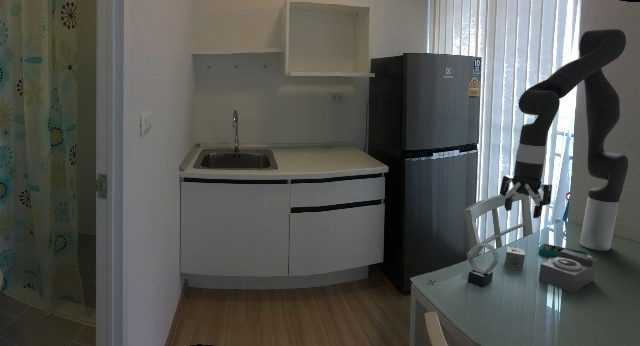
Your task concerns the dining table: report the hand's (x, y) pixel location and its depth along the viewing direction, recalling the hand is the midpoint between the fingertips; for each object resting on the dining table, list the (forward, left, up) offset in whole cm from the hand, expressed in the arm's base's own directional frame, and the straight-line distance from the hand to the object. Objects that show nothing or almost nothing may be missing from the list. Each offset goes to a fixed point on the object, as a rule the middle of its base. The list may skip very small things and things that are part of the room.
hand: (521, 214), depth 134 cm
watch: (+20, +1, -17) cm, 26 cm away
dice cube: (0, 0, -17) cm, 17 cm away
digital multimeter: (-22, +5, -17) cm, 28 cm away
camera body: (-3, +14, -16) cm, 22 cm away
